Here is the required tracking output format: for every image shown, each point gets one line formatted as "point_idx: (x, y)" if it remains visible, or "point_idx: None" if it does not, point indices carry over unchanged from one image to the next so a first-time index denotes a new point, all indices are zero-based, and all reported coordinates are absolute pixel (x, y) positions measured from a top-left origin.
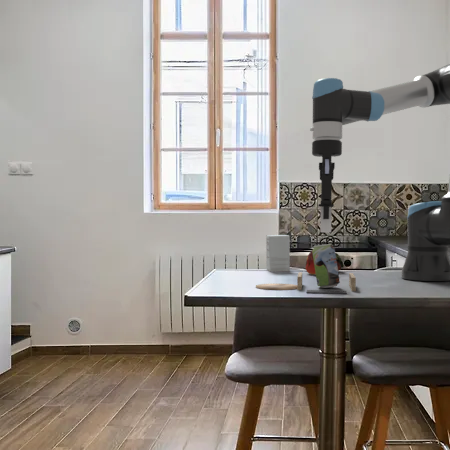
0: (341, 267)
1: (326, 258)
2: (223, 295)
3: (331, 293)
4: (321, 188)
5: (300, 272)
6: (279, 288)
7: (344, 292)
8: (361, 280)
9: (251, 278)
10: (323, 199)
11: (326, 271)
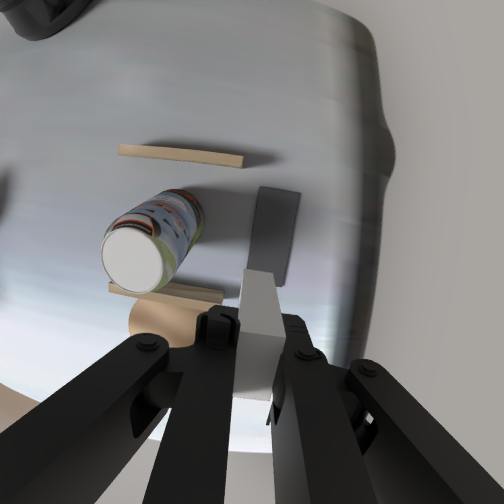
0: None
1: (185, 244)
2: None
3: (292, 230)
4: (103, 490)
5: (113, 288)
6: None
7: (291, 197)
8: (44, 119)
9: (48, 353)
10: (370, 425)
11: (196, 235)
